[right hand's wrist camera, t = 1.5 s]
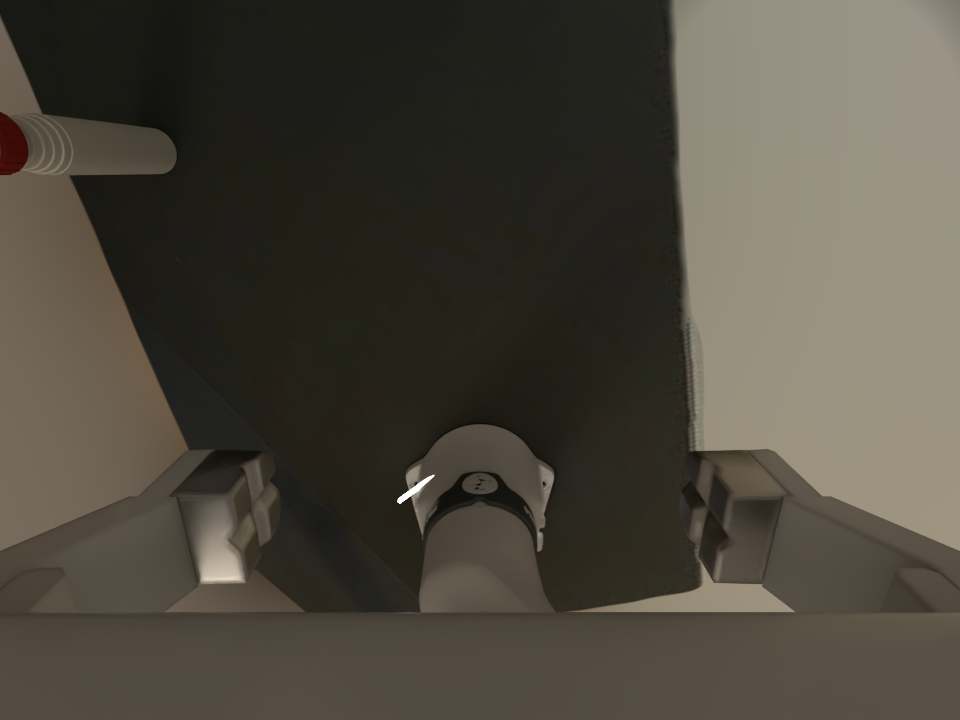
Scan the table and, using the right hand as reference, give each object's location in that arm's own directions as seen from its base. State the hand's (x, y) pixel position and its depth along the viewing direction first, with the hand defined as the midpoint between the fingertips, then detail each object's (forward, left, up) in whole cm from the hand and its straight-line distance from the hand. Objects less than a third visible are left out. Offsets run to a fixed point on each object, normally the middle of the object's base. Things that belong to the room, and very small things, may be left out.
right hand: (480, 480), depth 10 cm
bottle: (+8, +33, -48) cm, 59 cm away
